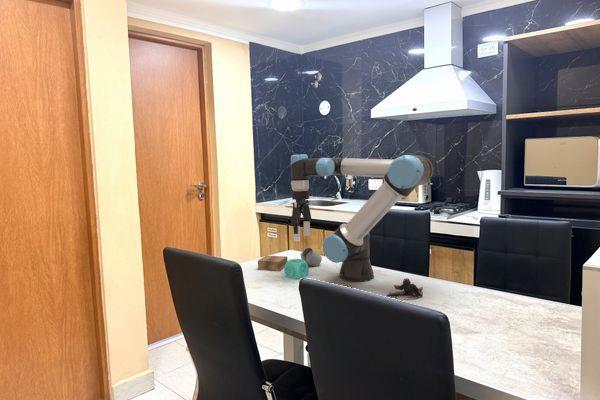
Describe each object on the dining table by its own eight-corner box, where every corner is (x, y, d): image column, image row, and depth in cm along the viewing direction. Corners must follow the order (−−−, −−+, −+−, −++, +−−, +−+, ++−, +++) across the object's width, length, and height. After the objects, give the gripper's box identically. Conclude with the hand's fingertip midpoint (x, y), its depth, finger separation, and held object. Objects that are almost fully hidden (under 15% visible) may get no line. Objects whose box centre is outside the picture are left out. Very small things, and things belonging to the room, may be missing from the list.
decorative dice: (295, 275, 198) (295, 258, 197) (309, 277, 193) (308, 260, 192) (284, 279, 192) (283, 261, 191) (297, 281, 186) (297, 263, 186)
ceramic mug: (316, 270, 211) (325, 258, 210) (305, 264, 206) (314, 252, 205) (306, 259, 219) (315, 247, 219) (295, 253, 214) (305, 241, 214)
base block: (287, 268, 211) (287, 256, 211) (279, 274, 201) (279, 261, 200) (266, 267, 215) (266, 255, 214) (258, 273, 204) (257, 260, 204)
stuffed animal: (430, 289, 164) (415, 278, 157) (422, 313, 162) (407, 303, 154) (405, 283, 173) (389, 272, 166) (397, 306, 170) (381, 295, 163)
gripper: (301, 188, 199) (303, 233, 201) (281, 192, 175) (283, 243, 177) (317, 188, 196) (318, 233, 198) (298, 192, 173) (300, 244, 175)
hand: (302, 238), depth 188 cm, fingers open, 13 cm apart
